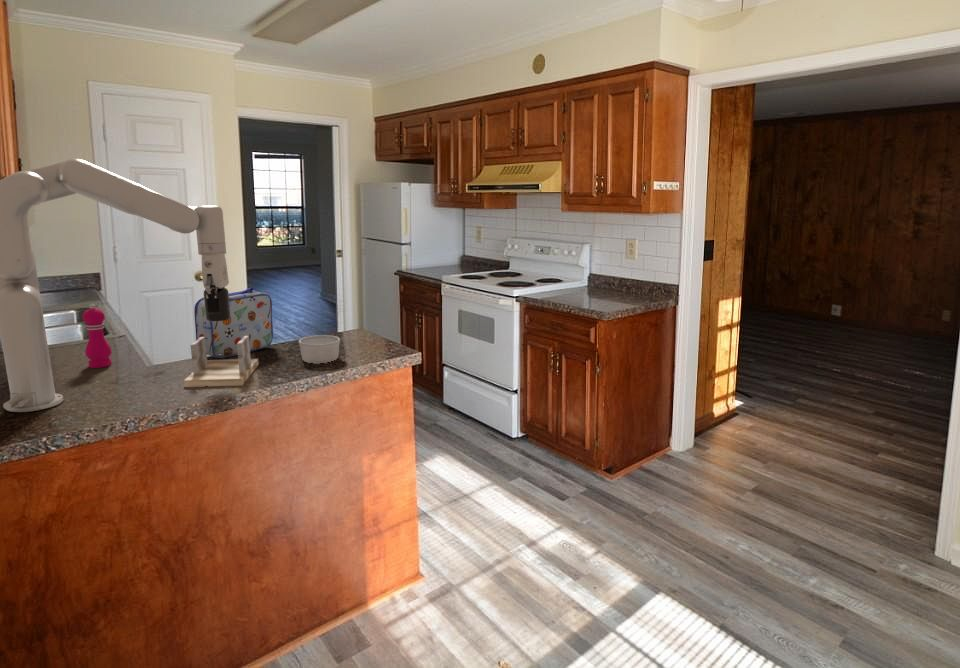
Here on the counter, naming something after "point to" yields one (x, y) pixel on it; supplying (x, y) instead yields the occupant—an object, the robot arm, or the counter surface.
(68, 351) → the counter surface
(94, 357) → the pepper mill
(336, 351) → the ramekin
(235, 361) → the wooden stand
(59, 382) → the counter surface
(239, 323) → the lunch box
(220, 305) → the supplement bottle
